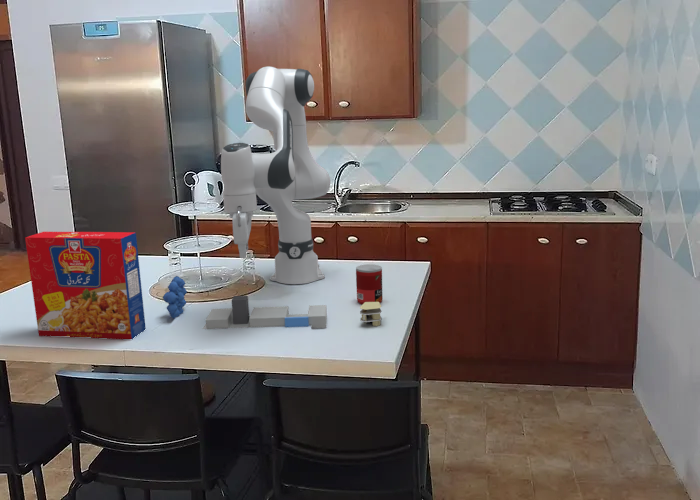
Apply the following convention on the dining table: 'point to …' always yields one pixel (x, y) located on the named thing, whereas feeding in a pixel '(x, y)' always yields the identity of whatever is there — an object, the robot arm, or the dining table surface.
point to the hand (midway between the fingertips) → (244, 254)
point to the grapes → (175, 297)
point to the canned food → (369, 283)
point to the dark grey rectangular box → (240, 310)
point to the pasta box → (86, 284)
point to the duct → (269, 318)
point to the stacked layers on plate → (371, 313)
